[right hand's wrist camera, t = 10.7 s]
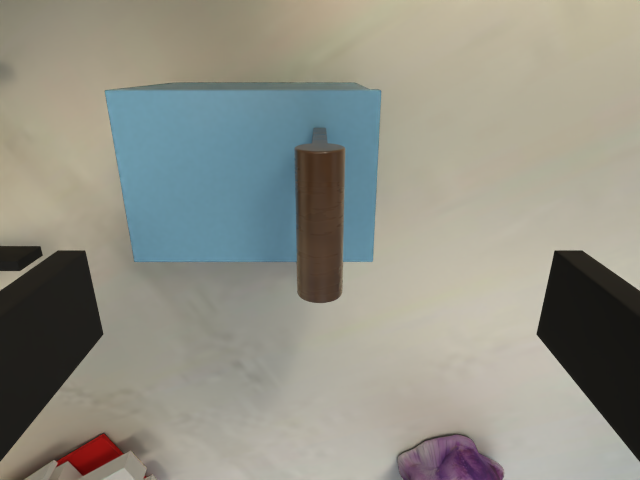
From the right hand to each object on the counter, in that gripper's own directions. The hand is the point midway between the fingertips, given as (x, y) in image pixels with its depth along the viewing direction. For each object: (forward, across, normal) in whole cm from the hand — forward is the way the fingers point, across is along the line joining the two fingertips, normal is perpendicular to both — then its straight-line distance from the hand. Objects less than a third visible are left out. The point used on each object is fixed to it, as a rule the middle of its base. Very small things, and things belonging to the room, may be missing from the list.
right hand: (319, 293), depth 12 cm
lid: (+14, -4, 0) cm, 14 cm away
